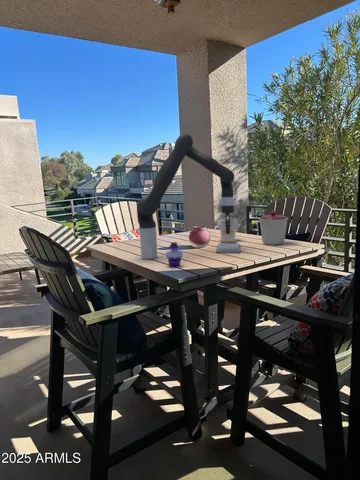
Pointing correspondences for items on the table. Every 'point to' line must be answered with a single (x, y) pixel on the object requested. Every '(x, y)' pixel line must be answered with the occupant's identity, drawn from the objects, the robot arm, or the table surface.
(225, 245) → the grey pedestal stand
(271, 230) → the canister
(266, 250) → the table surface
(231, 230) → the supplement box
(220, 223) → the chalice
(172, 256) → the potion bottle
